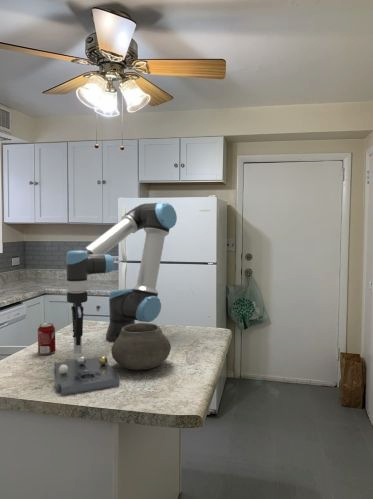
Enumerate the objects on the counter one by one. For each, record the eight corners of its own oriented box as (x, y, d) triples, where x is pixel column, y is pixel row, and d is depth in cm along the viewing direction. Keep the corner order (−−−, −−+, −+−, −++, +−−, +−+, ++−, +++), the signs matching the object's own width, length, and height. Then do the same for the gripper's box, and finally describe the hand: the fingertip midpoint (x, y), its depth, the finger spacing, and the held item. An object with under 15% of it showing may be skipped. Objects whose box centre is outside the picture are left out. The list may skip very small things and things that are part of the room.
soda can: (49, 356, 155) (49, 327, 155) (34, 355, 157) (34, 326, 156) (58, 351, 162) (58, 323, 161) (44, 350, 163) (43, 322, 163)
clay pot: (122, 382, 129) (121, 338, 128) (104, 362, 148) (104, 324, 147) (180, 371, 139) (180, 330, 138) (156, 354, 158) (156, 318, 157)
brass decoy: (106, 362, 141) (106, 354, 141) (108, 365, 138) (108, 357, 138) (98, 363, 140) (98, 355, 139) (99, 366, 137) (99, 358, 137)
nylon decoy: (67, 371, 132) (67, 362, 132) (68, 374, 130) (68, 365, 129) (58, 372, 131) (58, 363, 131) (59, 375, 128) (59, 366, 128)
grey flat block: (51, 370, 140) (51, 363, 140) (106, 362, 148) (106, 355, 148) (58, 396, 118) (58, 388, 118) (122, 385, 126) (121, 377, 126)
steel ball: (85, 362, 141) (85, 354, 141) (87, 365, 138) (87, 356, 138) (76, 363, 140) (76, 355, 139) (78, 366, 137) (77, 357, 136)
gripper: (64, 289, 150) (65, 349, 151) (69, 294, 138) (69, 359, 139) (84, 288, 153) (85, 346, 154) (90, 293, 141) (90, 356, 142)
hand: (77, 352), depth 147 cm, fingers closed
